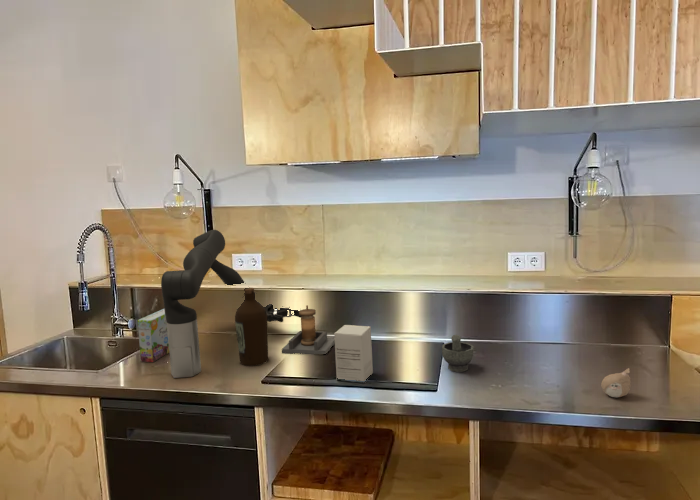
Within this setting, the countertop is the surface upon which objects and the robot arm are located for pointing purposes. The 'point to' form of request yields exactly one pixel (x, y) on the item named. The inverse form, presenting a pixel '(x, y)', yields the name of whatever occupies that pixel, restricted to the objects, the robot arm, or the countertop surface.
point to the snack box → (153, 336)
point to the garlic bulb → (617, 384)
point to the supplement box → (353, 352)
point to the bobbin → (308, 326)
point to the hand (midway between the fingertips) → (292, 317)
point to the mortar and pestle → (457, 354)
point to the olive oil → (251, 330)
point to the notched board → (319, 347)
